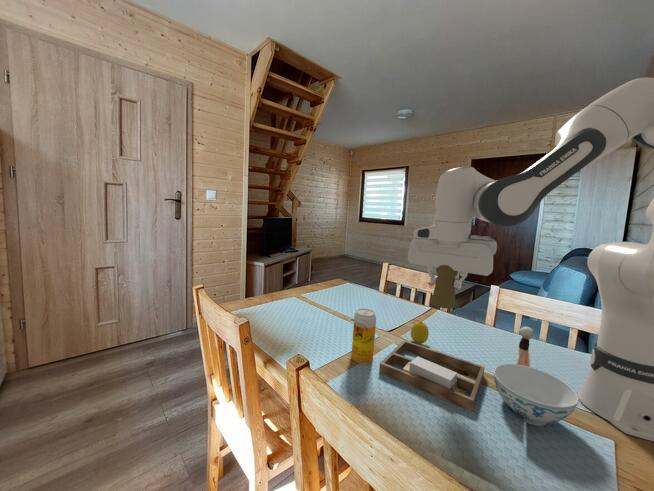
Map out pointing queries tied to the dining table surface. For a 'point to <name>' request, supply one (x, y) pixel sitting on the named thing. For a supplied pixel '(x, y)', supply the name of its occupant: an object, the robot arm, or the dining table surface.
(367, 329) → the beer can
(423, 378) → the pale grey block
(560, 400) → the chinaware
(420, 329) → the lemon
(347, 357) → the dining table surface
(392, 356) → the walnut divided tray
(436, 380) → the grey offcut
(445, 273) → the brown tall rounded piece
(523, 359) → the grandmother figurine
